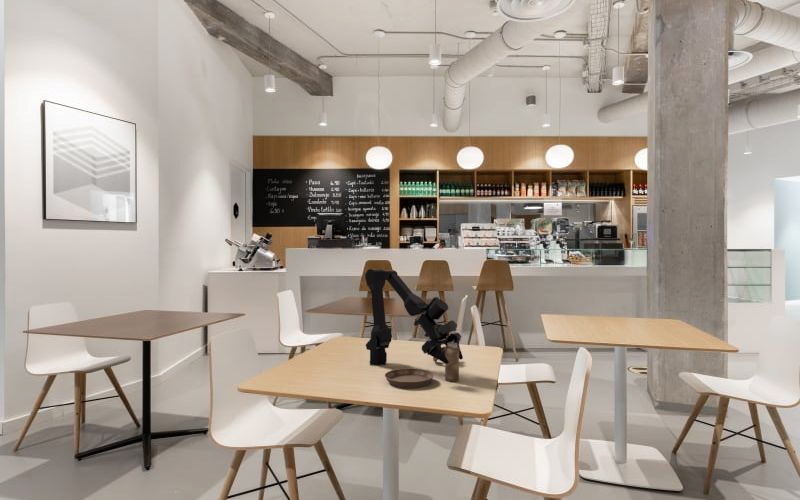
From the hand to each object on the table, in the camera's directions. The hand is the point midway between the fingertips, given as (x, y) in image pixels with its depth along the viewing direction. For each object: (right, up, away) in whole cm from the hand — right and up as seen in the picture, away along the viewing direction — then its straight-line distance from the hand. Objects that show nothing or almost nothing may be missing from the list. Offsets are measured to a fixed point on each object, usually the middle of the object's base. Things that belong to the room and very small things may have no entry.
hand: (455, 361), depth 175 cm
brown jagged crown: (-1, -7, +27) cm, 28 cm away
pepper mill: (-1, -7, +1) cm, 7 cm away
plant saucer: (-17, -8, -2) cm, 19 cm away
